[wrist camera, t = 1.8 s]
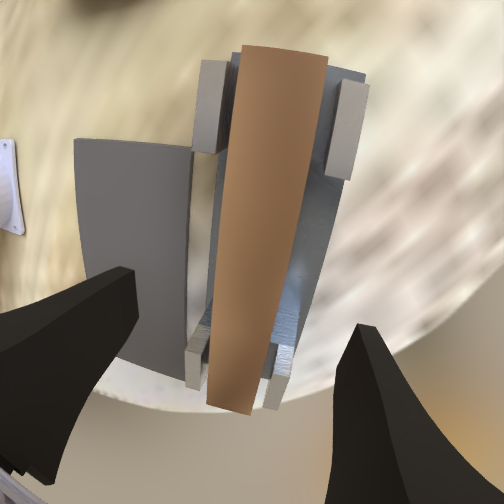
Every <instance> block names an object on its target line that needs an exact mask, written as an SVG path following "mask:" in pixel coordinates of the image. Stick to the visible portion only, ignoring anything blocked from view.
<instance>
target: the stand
mask: <svg viewBox="0 0 504 504" xmlns="http://www.w3.org/2000/svg"><path fill="white" fill-rule="evenodd" d="M240 57H241V53H237V52H232V57H231V63H230V62H228V61H217V60H202V61H201V69H200V76H199V84H198V92H197V101H196V109H195V119H194V129H193V139H192V150H191V151H194V152H201V153H209V154H217V153H219V159H218V168H217V177H216V187H215V197H214V208H213V219H212V230H211V242H210V255H209V268H208V282H207V298H206V311H205V313H204V315H203V316H202V318H201V320H200V322H199V324H198V326H197V328H196V330H195V332H194V334H193V336H192V338H191V339H190V341H189V343H188V345H187V347H186V349H185V382H186V387H188V388H191V389H195V390H198V391H200V389H201V387H202V385H203V382H204V380H205V377H206V375H207V373H208V365H209V349H210V334H211V320H212V307H213V294H214V282H215V271H216V259H217V248H218V238H219V228H220V218H221V208H222V198H223V189H224V180H225V171H226V163H227V154H228V146H229V138H230V130H231V122H232V114H233V107H234V99H235V92H236V85H237V78H238V71H239V64H240ZM365 77H366V74H363V73H359V72H355V71H351V70H347V69H343V68H339V67H334V66H329V65H327V70H326V76H325V82H324V88H323V94H322V100H321V105H320V111H319V117H318V122H317V128H316V133H315V139H314V144H313V149H312V154H311V160H310V165H309V170H308V175H307V180H306V185H305V190H304V195H303V199H302V204H301V209H300V214H299V219H298V223H297V228H296V232H295V237H294V242H293V246H292V251H291V255H290V260H289V264H288V268H287V273H286V277H285V281H284V286H283V290H282V294H281V298H280V302H279V307H278V311H277V315H276V319H275V323H274V327H273V331H272V335H271V339H270V343H269V347H268V351H267V355H266V359H265V363H264V366H263V370H262V374H261V378H264V379H269V380H268V385H267V389H266V393H265V398H264V402H263V408H269V409H273V410H278V407H279V405H280V402H281V400H282V397H283V394H284V392H285V389H286V387H287V384H288V381H289V379H290V374H291V368H292V361H293V357H294V354H295V351H296V348H297V345H298V342H299V339H300V336H301V333H302V330H303V327H304V324H305V321H306V318H307V315H308V311H309V308H310V305H311V302H312V299H313V295H314V292H315V289H316V285H317V282H318V279H319V275H320V272H321V269H322V265H323V262H324V258H325V254H326V251H327V247H328V244H329V240H330V236H331V233H332V229H333V225H334V221H335V217H336V213H337V210H338V206H339V202H340V197H341V193H342V189H343V185H344V181H345V180H349V181H350V179H351V174H352V170H353V166H354V161H355V157H356V153H357V148H358V143H359V139H360V134H361V129H362V124H363V119H364V114H365V109H366V103H367V98H368V92H369V87H370V85H367V84H364V83H365Z"/></svg>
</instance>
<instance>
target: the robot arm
mask: <svg viewBox="0 0 504 504" xmlns="http://www.w3.org/2000/svg"><path fill="white" fill-rule="evenodd" d="M0 228H1V229H4V230H6V231H9V232H12V233H15V234H18V235H22V234H23V233H24V232H25V229H24V223H23V217H22V211H21V204H20V197H19V189H18V180H17V170H16V157H15V143H14V141H13V139H0ZM138 319H139V309H138V300H137V290H136V279H135V270H133V269H129V268H126V267H122V266H118V267H115V268H112V269H110V270H107V271H105V272H103V273H101V274H98V275H96V276H94V277H92V278H90V279H87V280H85V281H83V282H81V283H79V284H77V285H74V286H72V287H70V288H68V289H66V290H64V291H61V292H59V293H56V294H54V295H52V296H49V297H47V298H45V299H42V300H40V301H38V302H35V303H32V304H30V305H27V306H24V307H21V308H18V309H15V310H12V311H9V312H5V313H1V314H0V504H47V503H46V502H44V501H43V500H42V499H40V498H39V497H37V496H36V495H35V494H33V493H32V492H31V491H29V490H28V489H27V488H25V487H24V486H23V485H21V484H20V483H19V482H18V481H16V480H15V479H14V478H13V477H11V476H10V475H11V473H12V471H13V470H15V471H16V472H17V473H18V474H20V475H21V476H23V475H24V474H25V472H28V473H29V474H30V475H31V476H33V477H34V478H35V479H37V480H38V481H39V482H41V483H42V484H44V485H52V484H54V483H55V479H56V475H57V471H58V468H59V464H60V461H61V458H62V455H63V452H64V449H65V446H66V444H67V441H68V439H69V436H70V434H71V431H72V429H73V427H74V425H75V422H76V420H77V418H78V416H79V414H80V412H81V410H82V408H83V406H84V404H85V402H86V400H87V398H88V396H89V395H90V393H91V391H92V390H93V388H94V387H95V385H96V384H97V382H98V381H99V379H100V378H101V376H102V375H103V374H104V372H105V371H106V369H107V368H108V367H109V365H110V364H111V362H112V361H113V360H114V358H115V357H116V355H117V354H118V353H119V351H120V350H121V348H122V347H123V346H124V344H125V343H126V341H127V340H128V338H129V336H130V334H131V332H132V331H133V329H134V327H135V325H136V323H137V321H138ZM325 504H504V493H503V492H501V491H500V490H499V489H497V488H496V487H495V486H493V485H492V484H491V483H489V481H487V480H486V479H485V478H484V477H483V476H482V475H481V474H480V473H479V472H478V471H477V470H476V469H474V468H473V467H472V466H471V465H470V464H469V463H468V462H467V461H466V460H465V459H464V457H463V456H462V455H461V454H460V453H459V452H458V451H457V450H456V449H455V447H454V446H453V445H452V444H451V443H450V442H449V441H448V439H447V438H446V437H445V436H444V435H443V433H442V432H441V431H440V429H439V428H438V427H437V425H436V424H435V423H434V421H433V420H432V419H431V417H430V416H429V415H428V413H427V412H426V410H425V409H424V408H423V406H422V404H421V403H420V401H419V400H418V398H417V397H416V395H415V394H414V392H413V391H412V389H411V387H410V386H409V384H408V382H407V381H406V379H405V377H404V376H403V374H402V372H401V371H400V369H399V367H398V365H397V364H396V362H395V360H394V358H393V357H392V355H391V353H390V351H389V350H388V348H387V346H386V344H385V342H384V341H383V339H382V337H381V335H380V334H379V332H378V330H377V329H376V327H374V326H369V325H363V324H358V323H357V325H356V327H355V329H354V332H353V334H352V336H351V338H350V340H349V342H348V345H347V347H346V349H345V351H344V353H343V355H342V357H341V359H340V361H339V363H338V365H337V368H336V377H335V385H334V394H333V454H332V466H331V472H330V479H329V484H328V490H327V495H326V499H325Z"/></svg>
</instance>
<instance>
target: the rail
mask: <svg viewBox="0 0 504 504" xmlns="http://www.w3.org/2000/svg"><path fill="white" fill-rule="evenodd" d="M327 64H328V57H327V56H322V55H316V54H311V53H305V52H299V51H293V50H286V49H278V48H270V47H261V46H250V45H242V51H241V57H240V64H239V71H238V78H237V85H236V92H235V99H234V107H233V114H232V122H231V130H230V138H229V146H228V154H227V163H226V171H225V180H224V189H223V198H222V208H221V218H220V228H219V238H218V248H217V259H216V271H215V282H214V294H213V307H212V320H211V334H210V349H209V365H208V382H207V401H206V404H208V405H211V406H215V407H218V408H222V409H226V410H229V411H233V412H237V413H241V414H245V415H251V411H252V407H253V404H254V400H255V396H256V393H257V389H258V385H259V382H260V378H261V374H262V370H263V366H264V363H265V359H266V355H267V351H268V347H269V343H270V339H271V335H272V331H273V327H274V323H275V319H276V315H277V311H278V307H279V302H280V298H281V294H282V290H283V286H284V281H285V277H286V273H287V268H288V264H289V260H290V255H291V251H292V246H293V242H294V237H295V232H296V228H297V223H298V219H299V214H300V209H301V204H302V199H303V195H304V190H305V185H306V180H307V175H308V170H309V165H310V160H311V154H312V149H313V144H314V139H315V133H316V128H317V122H318V117H319V111H320V105H321V100H322V94H323V88H324V82H325V76H326V70H327Z"/></svg>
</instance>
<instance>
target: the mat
mask: <svg viewBox="0 0 504 504" xmlns="http://www.w3.org/2000/svg"><path fill="white" fill-rule="evenodd" d="M191 150H192V147H184V146H176V145H166V144H157V143H146V142H134V141H121V140H105V139H84V138H77V139H74V172H75V190H76V203H77V214H78V223H79V232H80V240H81V247H82V254H83V260H84V266H85V272H86V278H87V279H90V278H92V277H94V276H96V275H98V274H101V273H103V272H105V271H107V270H110V269H112V268H115V267H118V266H122V267H126V268H129V269H133V270H135V279H136V290H137V300H138V309H139V319H138V321H137V323H136V325H135V327H134V329H133V331H132V332H131V334H130V336H129V338H128V340H127V341H126V343H125V344H124V346H123V347H122V348H121V350H120V351H119V353H118V354H117V355H116V357H118V358H121V359H123V360H126V361H128V362H131V363H134V364H136V365H139V366H142V367H144V368H147V369H150V370H153V371H156V372H158V373H161V374H164V375H167V376H170V377H173V378H176V379H179V380H182V381H185V349H186V347H187V345H186V311H187V262H188V237H189V217H190V200H191V185H192V172H193V159H194V151H191Z"/></svg>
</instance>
